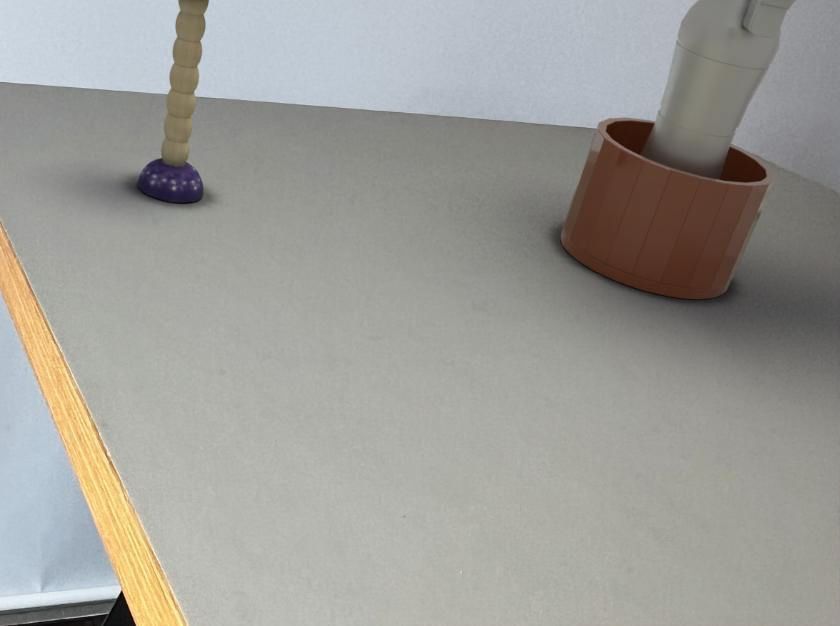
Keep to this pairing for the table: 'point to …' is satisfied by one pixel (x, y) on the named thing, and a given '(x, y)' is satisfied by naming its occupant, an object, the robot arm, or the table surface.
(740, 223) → the crock
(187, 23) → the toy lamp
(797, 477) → the table surface
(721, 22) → the plastic bottle
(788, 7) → the robot arm
